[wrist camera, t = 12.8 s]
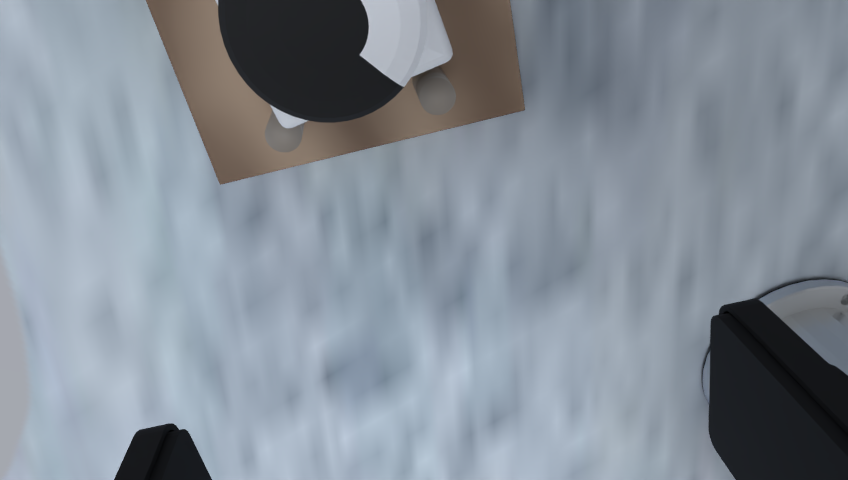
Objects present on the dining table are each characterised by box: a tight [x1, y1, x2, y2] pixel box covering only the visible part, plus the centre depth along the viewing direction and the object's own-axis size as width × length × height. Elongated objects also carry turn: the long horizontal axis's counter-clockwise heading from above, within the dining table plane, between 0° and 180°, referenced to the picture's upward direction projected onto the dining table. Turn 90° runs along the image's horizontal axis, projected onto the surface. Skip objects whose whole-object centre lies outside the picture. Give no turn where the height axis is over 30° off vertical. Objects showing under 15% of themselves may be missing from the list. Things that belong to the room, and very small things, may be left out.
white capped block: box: [215, 0, 453, 128], centre depth 23 cm, size 7×7×12 cm
